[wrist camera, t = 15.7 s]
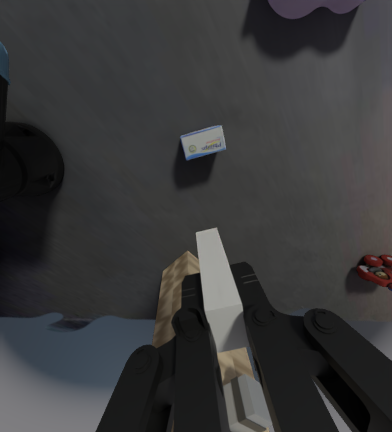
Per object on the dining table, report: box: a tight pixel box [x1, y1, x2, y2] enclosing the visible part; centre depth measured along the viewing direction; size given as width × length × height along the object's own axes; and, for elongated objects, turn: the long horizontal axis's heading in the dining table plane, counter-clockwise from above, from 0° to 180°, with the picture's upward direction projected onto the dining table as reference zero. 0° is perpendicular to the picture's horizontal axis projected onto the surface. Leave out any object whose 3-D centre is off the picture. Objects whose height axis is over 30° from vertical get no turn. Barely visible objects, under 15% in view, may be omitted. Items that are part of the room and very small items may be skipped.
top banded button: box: [223, 374, 272, 432], centre depth 28 cm, size 5×5×5 cm
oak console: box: [152, 251, 269, 432], centre depth 41 cm, size 10×18×38 cm, turn 43°
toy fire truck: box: [357, 255, 392, 291], centre depth 56 cm, size 7×12×10 cm, turn 90°
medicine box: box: [180, 126, 226, 160], centre depth 40 cm, size 8×4×9 cm, turn 105°
